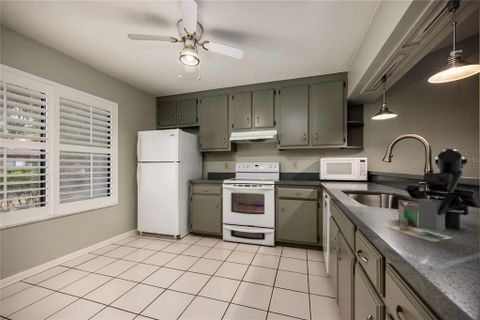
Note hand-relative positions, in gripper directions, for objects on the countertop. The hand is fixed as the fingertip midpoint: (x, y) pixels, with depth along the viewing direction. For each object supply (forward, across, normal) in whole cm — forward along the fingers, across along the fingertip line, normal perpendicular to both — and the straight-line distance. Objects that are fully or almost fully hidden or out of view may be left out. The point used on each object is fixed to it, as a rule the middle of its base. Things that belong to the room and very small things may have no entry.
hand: (428, 212), depth 70 cm
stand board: (+6, -4, +6) cm, 10 cm away
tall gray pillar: (+3, 0, +5) cm, 6 cm away
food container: (0, -11, +14) cm, 18 cm away
